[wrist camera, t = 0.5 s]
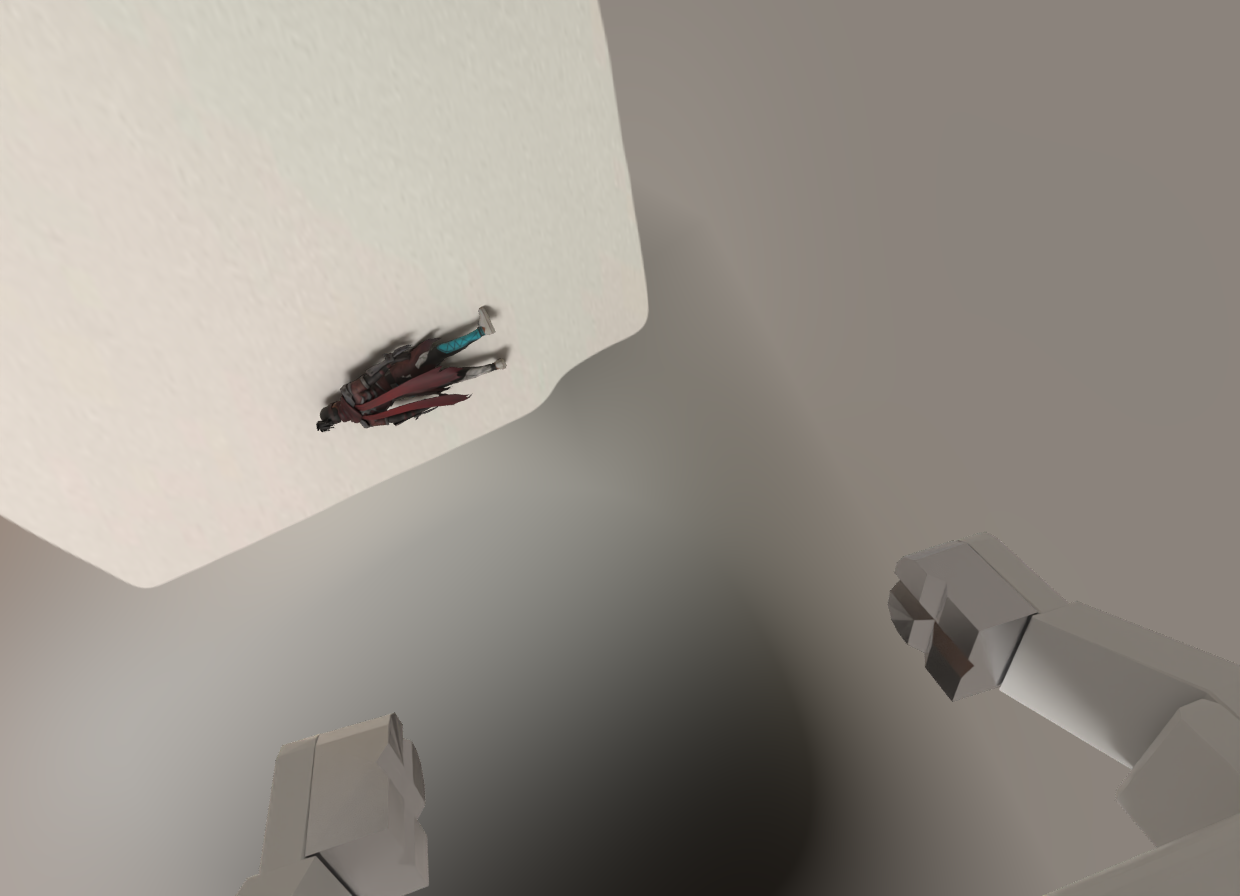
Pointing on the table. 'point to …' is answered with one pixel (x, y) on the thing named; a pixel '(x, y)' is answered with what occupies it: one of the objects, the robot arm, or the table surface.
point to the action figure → (407, 382)
